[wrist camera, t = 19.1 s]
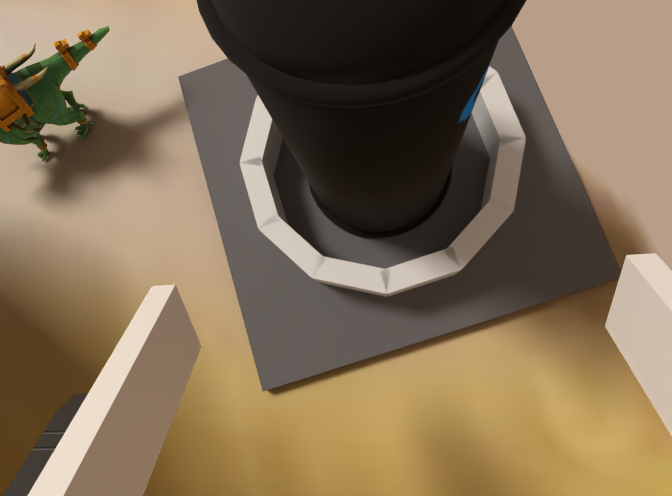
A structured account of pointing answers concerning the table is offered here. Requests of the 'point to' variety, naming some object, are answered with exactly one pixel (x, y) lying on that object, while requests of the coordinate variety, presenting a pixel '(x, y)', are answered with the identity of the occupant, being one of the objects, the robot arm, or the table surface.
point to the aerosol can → (366, 93)
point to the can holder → (401, 250)
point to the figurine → (42, 93)
